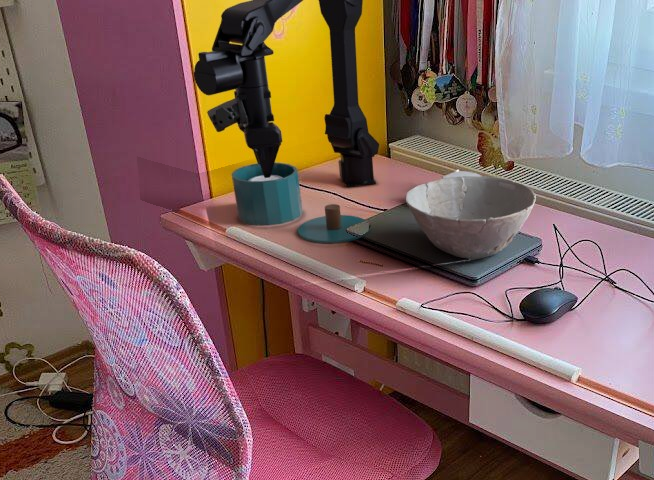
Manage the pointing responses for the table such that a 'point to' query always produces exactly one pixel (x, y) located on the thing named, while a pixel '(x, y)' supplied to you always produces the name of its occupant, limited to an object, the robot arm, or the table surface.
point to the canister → (267, 195)
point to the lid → (330, 227)
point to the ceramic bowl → (471, 213)
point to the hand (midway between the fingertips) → (263, 170)
